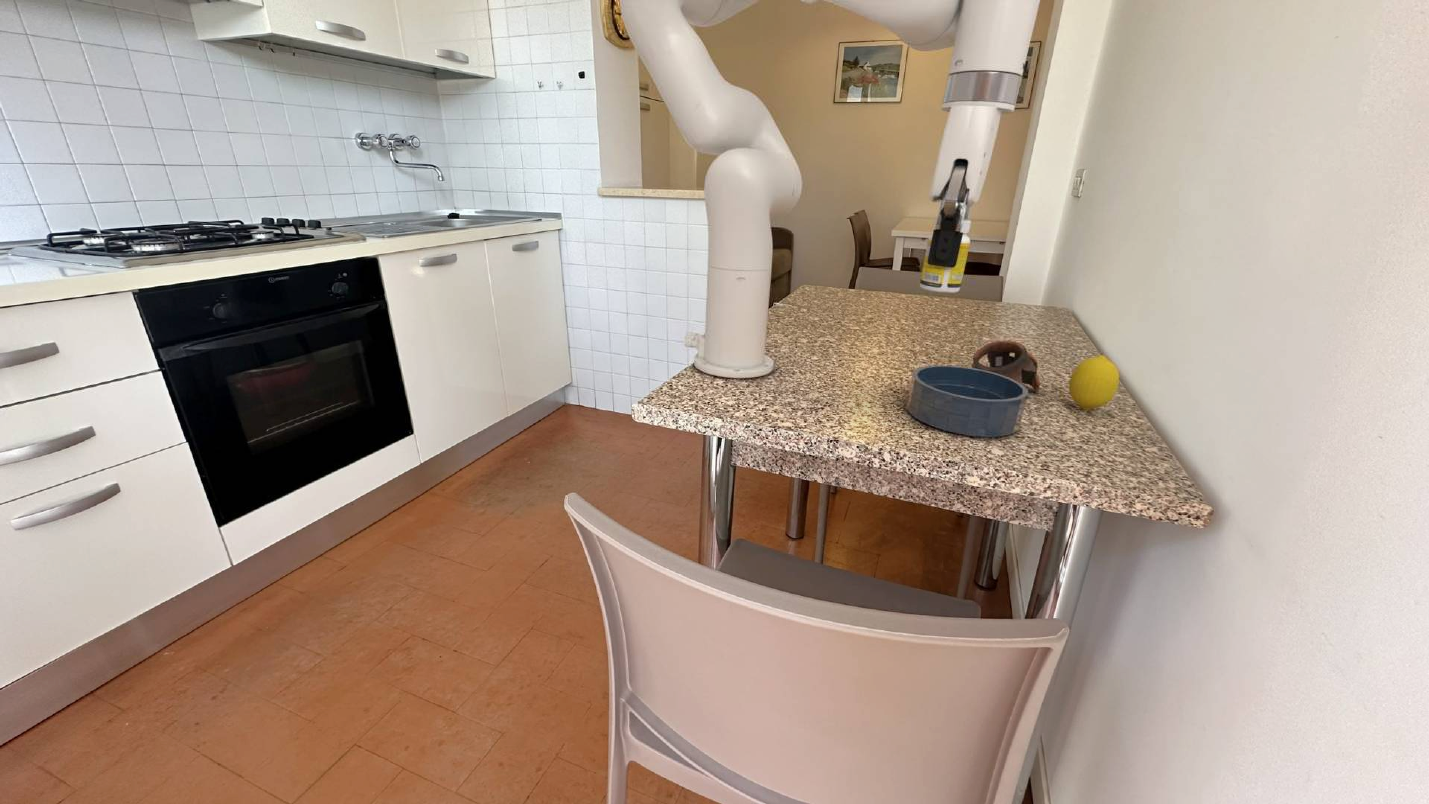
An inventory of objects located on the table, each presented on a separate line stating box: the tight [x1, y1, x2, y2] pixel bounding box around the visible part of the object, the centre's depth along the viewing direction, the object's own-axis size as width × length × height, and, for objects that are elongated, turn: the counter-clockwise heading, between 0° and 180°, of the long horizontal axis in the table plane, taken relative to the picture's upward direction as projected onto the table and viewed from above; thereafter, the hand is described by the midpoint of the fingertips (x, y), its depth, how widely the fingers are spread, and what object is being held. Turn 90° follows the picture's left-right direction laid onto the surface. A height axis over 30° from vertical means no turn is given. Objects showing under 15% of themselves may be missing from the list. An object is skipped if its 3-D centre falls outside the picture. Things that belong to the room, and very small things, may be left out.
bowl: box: [906, 364, 1029, 438], centre depth 74 cm, size 14×14×5 cm
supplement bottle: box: [919, 217, 972, 294], centre depth 70 cm, size 5×5×8 cm
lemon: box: [1068, 354, 1120, 412], centre depth 78 cm, size 6×6×8 cm
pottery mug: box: [971, 339, 1041, 395], centre depth 86 cm, size 12×10×8 cm
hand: (944, 261), depth 70 cm, fingers closed on supplement bottle, 4 cm apart
